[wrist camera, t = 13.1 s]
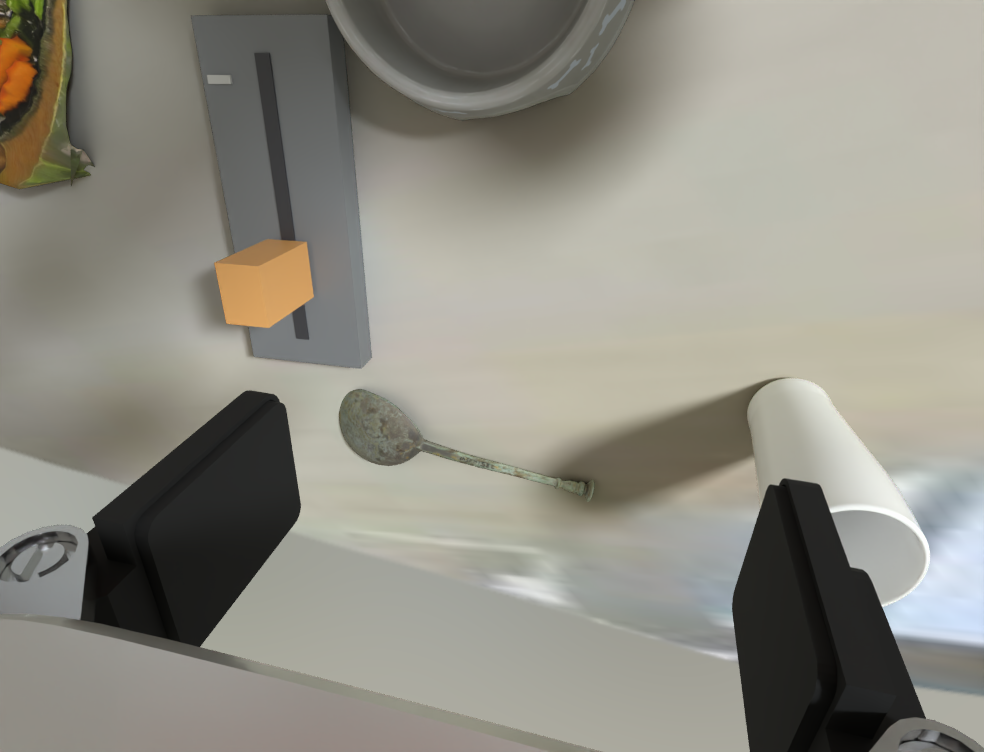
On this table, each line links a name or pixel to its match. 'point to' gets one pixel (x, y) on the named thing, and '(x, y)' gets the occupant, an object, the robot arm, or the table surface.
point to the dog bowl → (481, 48)
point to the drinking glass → (838, 482)
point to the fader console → (290, 169)
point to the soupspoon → (415, 440)
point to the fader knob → (264, 282)
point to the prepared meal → (35, 95)
